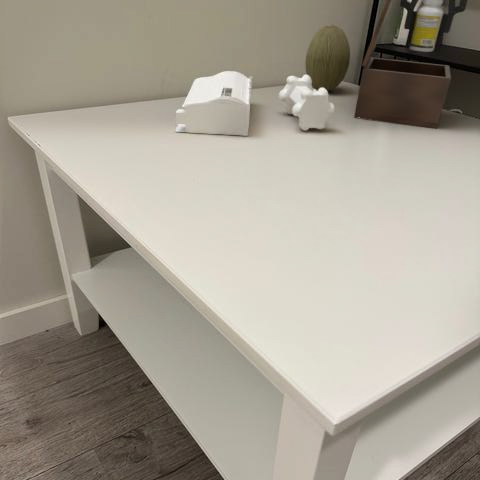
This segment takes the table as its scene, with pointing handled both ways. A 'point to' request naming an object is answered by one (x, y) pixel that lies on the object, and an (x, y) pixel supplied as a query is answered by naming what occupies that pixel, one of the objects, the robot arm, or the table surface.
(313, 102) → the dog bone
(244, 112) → the barrel roof building
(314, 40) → the fruit
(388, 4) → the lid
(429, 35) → the supplement bottle
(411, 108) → the chest
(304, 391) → the table surface
